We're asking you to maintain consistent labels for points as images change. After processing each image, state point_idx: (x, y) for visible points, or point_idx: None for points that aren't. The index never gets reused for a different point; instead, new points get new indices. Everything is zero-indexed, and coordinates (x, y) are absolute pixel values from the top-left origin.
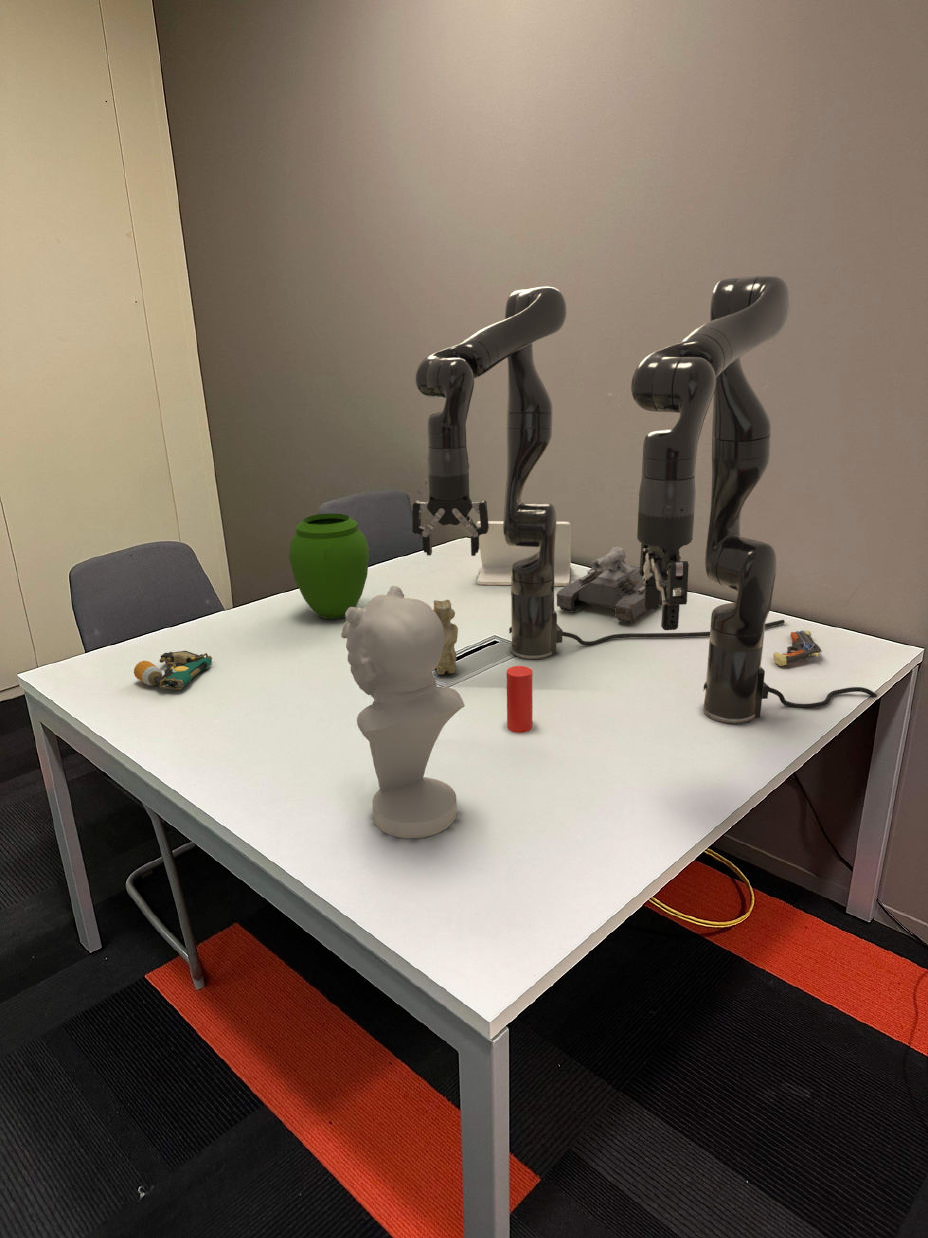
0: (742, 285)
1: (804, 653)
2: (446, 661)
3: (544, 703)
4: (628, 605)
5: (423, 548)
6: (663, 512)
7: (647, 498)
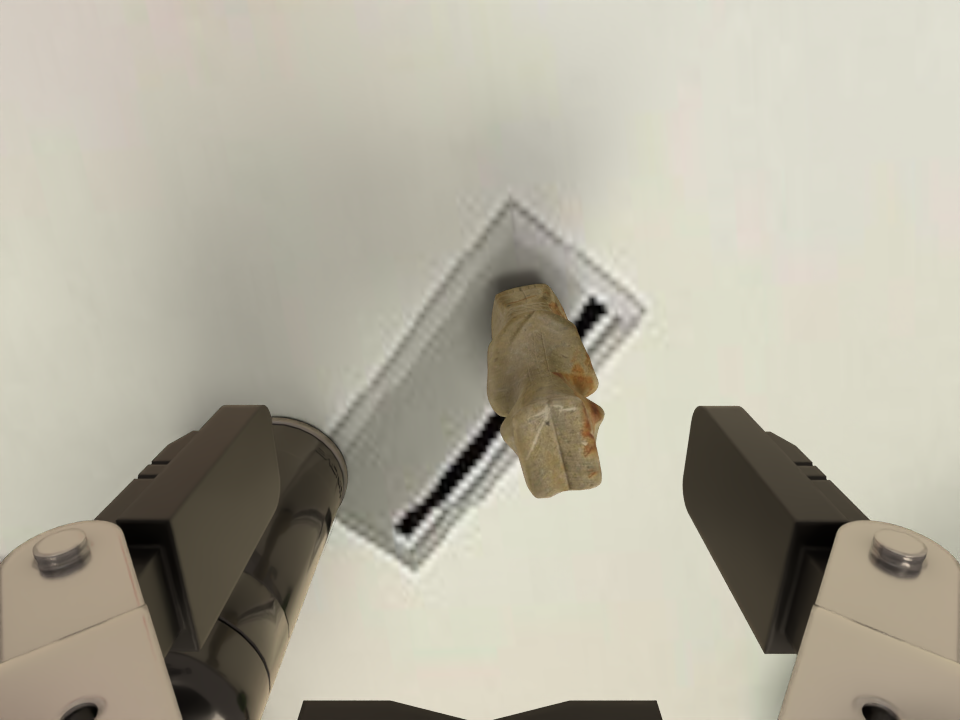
0: None
1: None
2: (521, 292)
3: (171, 100)
4: None
5: (801, 453)
6: None
7: None
